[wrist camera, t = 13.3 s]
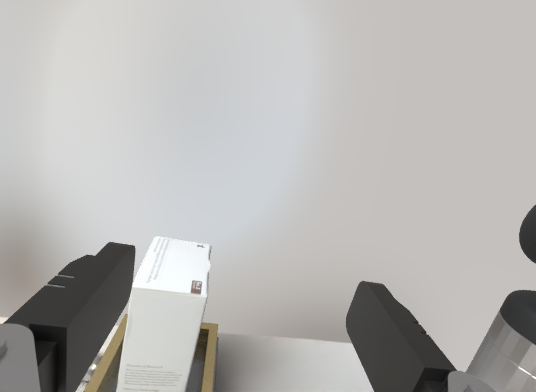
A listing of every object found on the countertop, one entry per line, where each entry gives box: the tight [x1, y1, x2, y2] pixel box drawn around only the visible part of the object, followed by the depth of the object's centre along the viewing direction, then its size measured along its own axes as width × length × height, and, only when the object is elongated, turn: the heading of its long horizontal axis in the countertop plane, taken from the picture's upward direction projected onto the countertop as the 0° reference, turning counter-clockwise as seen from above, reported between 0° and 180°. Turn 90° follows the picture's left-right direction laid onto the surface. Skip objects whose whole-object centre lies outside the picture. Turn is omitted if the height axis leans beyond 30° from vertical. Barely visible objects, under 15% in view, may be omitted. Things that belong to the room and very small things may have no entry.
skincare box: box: [116, 236, 211, 392], centre depth 26 cm, size 8×6×15 cm
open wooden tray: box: [82, 314, 218, 392], centre depth 28 cm, size 15×14×6 cm
